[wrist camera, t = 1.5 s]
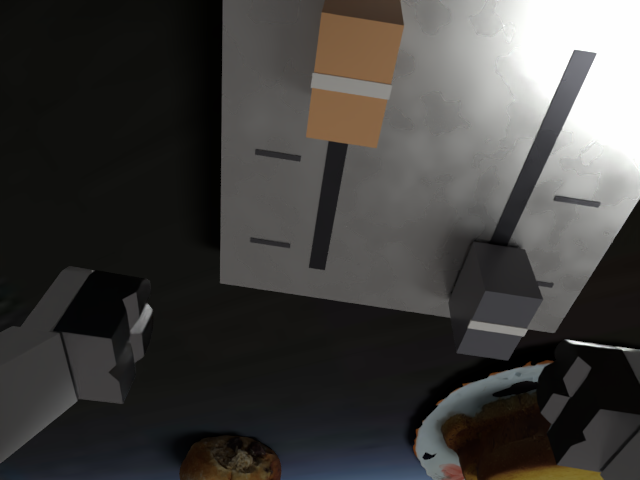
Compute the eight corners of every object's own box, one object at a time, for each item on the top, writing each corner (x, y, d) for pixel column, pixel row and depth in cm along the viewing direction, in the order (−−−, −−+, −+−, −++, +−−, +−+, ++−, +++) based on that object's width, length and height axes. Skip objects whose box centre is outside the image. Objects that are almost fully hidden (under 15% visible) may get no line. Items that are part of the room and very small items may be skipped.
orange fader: (327, -15, 22) (320, 12, 18) (400, -3, 22) (405, 26, 18) (313, 98, 25) (304, 137, 21) (377, 108, 25) (377, 149, 22)
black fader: (472, 241, 29) (484, 291, 26) (526, 249, 29) (544, 300, 26) (447, 302, 32) (455, 353, 29) (495, 309, 32) (509, 361, 29)
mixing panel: (238, -84, 23) (223, -74, 21) (718, -6, 23) (758, 13, 21) (230, 253, 36) (219, 283, 33) (542, 300, 36) (554, 333, 34)
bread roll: (188, 413, 55) (145, 488, 51) (239, 423, 48) (194, 512, 44) (253, 454, 60) (218, 526, 55) (309, 469, 52) (274, 554, 48)
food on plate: (505, 519, 58) (517, 586, 52) (358, 416, 47) (356, 487, 42) (763, 450, 45) (812, 529, 40) (639, 291, 35) (684, 370, 30)
